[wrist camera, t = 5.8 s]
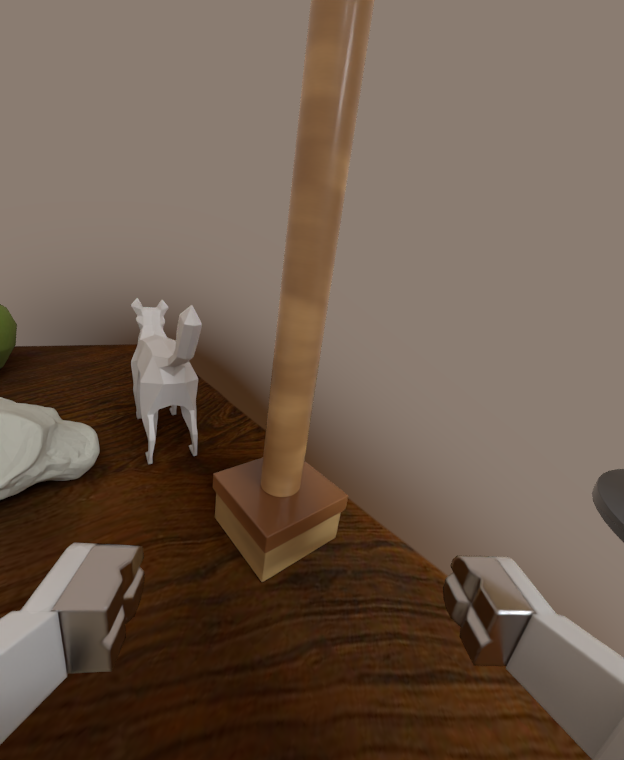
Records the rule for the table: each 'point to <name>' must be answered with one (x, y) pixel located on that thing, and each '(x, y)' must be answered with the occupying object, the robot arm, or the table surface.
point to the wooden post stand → (303, 308)
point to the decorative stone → (41, 447)
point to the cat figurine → (165, 369)
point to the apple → (6, 334)
